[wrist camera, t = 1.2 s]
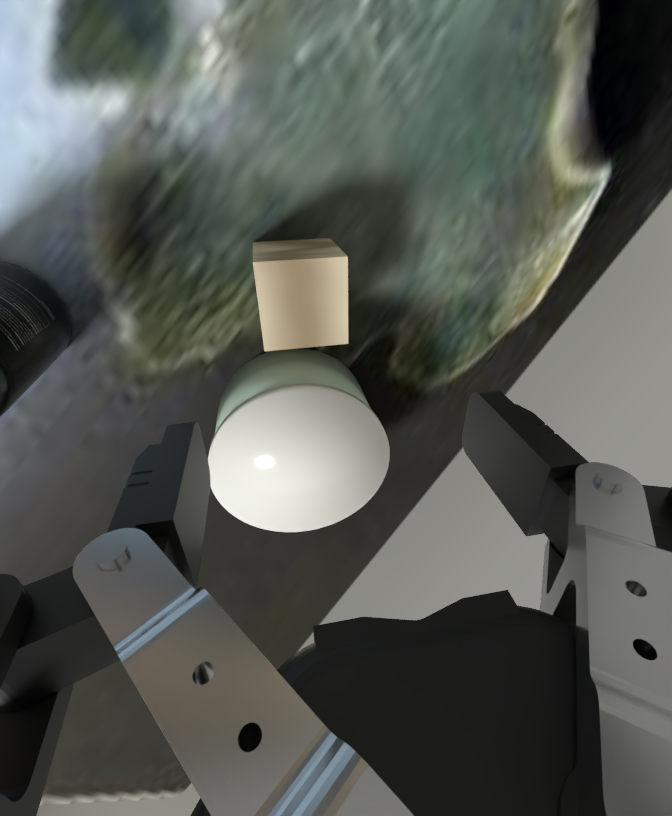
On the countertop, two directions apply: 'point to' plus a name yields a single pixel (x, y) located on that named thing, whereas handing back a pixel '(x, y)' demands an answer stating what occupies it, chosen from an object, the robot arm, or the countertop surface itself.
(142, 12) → the countertop surface
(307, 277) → the beech block
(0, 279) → the supplement bottle
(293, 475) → the round lidded container
